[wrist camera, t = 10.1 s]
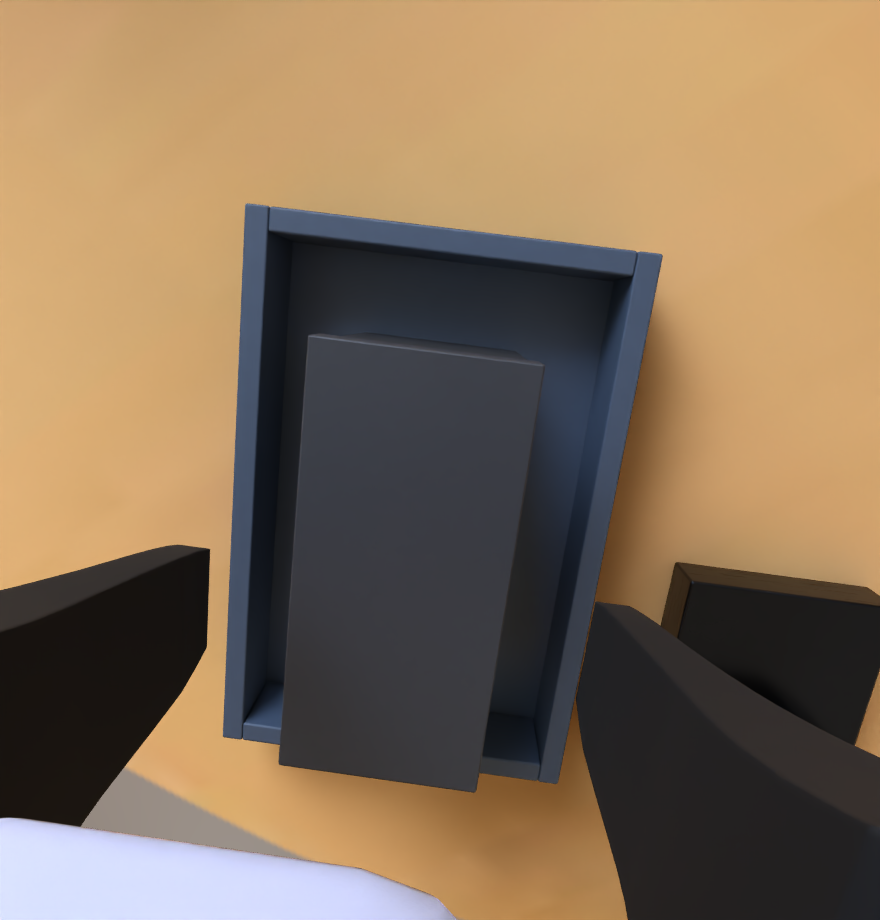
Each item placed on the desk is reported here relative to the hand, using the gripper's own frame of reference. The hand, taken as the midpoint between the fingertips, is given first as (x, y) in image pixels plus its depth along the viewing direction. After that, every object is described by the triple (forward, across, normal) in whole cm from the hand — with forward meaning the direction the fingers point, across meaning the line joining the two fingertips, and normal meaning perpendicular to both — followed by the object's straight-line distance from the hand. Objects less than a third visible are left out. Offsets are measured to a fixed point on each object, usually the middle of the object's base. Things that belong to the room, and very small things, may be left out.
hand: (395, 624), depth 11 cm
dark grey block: (+8, 0, 0) cm, 8 cm away
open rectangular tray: (+8, 0, 0) cm, 8 cm away
